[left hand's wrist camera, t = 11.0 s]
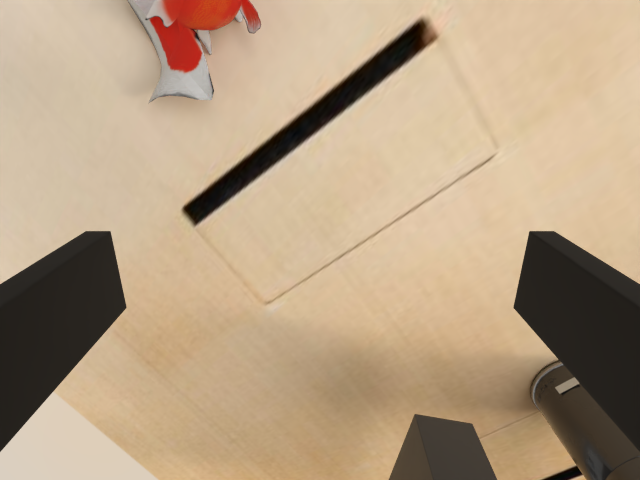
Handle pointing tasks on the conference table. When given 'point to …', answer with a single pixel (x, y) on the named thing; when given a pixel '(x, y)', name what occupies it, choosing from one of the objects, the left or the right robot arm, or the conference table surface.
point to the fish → (188, 39)
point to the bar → (441, 452)
